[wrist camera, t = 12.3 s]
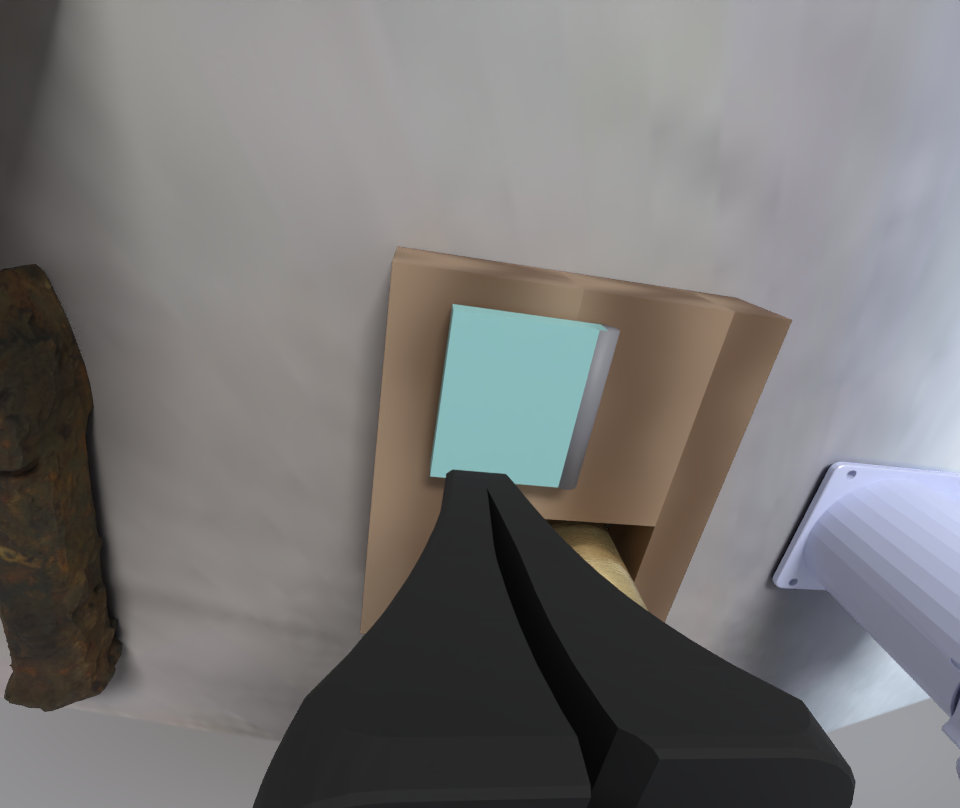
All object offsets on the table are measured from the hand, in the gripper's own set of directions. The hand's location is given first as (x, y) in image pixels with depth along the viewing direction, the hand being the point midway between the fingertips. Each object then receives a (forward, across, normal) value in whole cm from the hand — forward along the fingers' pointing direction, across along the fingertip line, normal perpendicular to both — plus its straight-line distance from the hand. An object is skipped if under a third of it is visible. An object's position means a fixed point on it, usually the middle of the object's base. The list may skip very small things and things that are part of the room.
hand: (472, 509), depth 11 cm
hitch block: (+10, -4, +4) cm, 12 cm away
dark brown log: (+11, +16, +8) cm, 21 cm away
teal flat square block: (+7, -2, 0) cm, 7 cm away
